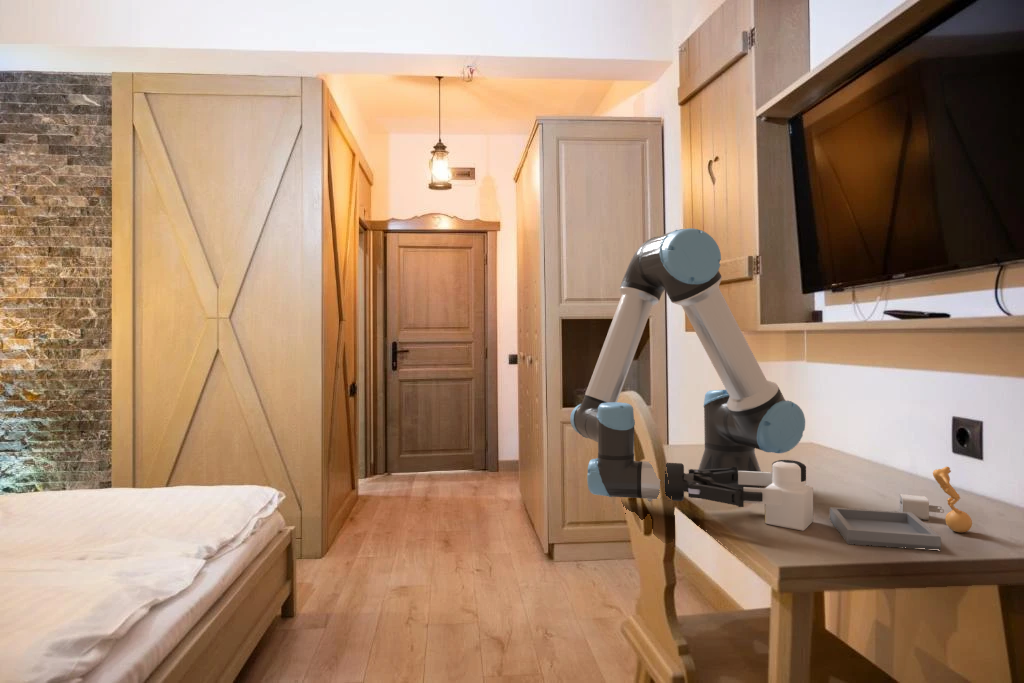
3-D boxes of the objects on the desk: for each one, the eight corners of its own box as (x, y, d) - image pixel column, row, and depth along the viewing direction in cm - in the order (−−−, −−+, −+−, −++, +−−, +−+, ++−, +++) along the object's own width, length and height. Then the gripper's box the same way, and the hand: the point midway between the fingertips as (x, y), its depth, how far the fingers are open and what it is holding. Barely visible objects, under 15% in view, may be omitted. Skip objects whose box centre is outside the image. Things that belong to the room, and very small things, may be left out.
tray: (829, 519, 119) (829, 507, 119) (911, 525, 115) (911, 512, 115) (848, 544, 105) (848, 529, 105) (940, 551, 102) (940, 536, 101)
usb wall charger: (899, 512, 123) (899, 493, 123) (940, 516, 120) (940, 497, 120) (902, 518, 119) (902, 498, 119) (945, 522, 117) (945, 502, 116)
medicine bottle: (775, 515, 122) (775, 456, 122) (813, 522, 118) (813, 460, 118) (764, 524, 117) (764, 462, 117) (804, 531, 112) (803, 467, 112)
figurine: (980, 540, 106) (981, 472, 106) (941, 537, 108) (941, 470, 108) (962, 525, 114) (962, 462, 114) (925, 523, 116) (925, 461, 116)
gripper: (666, 484, 135) (768, 490, 129) (661, 517, 111) (786, 527, 105) (666, 451, 135) (768, 455, 129) (660, 477, 111) (786, 484, 105)
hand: (776, 487), depth 117 cm, fingers open, 13 cm apart
